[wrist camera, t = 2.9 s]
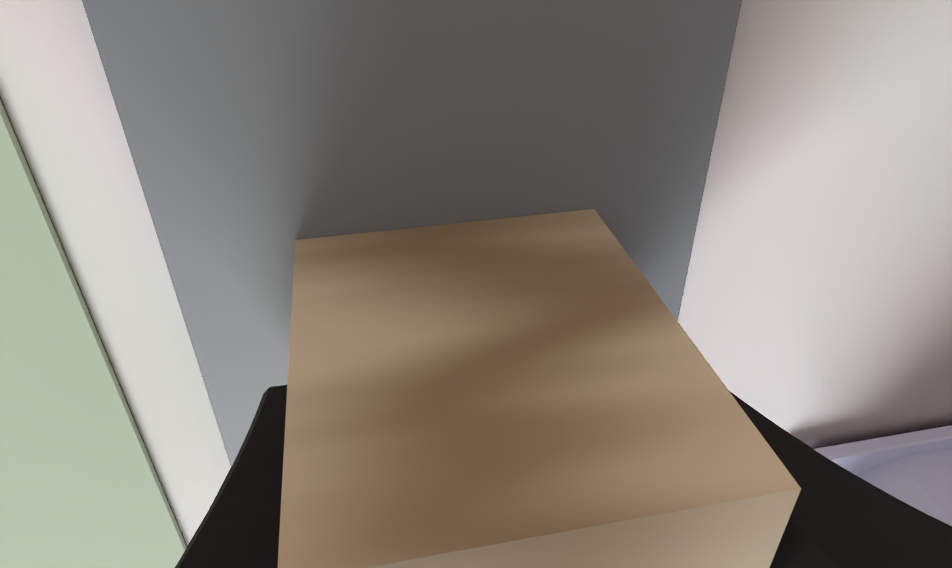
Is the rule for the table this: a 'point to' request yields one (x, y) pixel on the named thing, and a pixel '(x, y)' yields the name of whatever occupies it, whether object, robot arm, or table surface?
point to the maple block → (510, 410)
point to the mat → (64, 410)
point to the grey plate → (399, 139)
